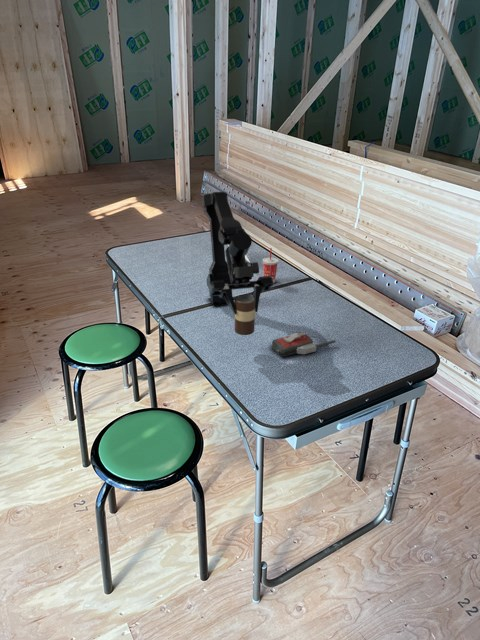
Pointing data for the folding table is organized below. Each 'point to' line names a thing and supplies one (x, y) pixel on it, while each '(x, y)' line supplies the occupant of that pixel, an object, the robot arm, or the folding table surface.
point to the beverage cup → (270, 266)
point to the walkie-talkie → (296, 344)
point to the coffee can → (245, 314)
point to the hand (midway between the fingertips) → (246, 313)
